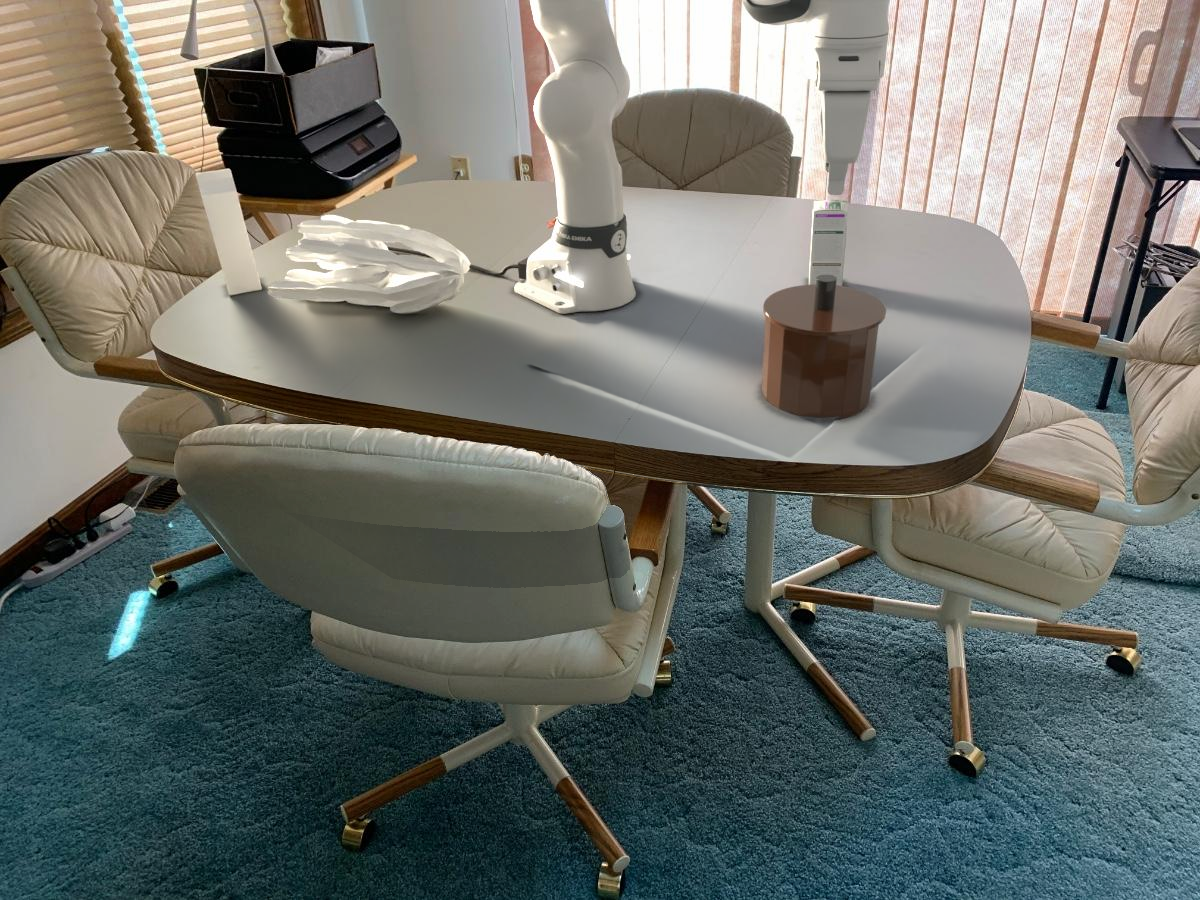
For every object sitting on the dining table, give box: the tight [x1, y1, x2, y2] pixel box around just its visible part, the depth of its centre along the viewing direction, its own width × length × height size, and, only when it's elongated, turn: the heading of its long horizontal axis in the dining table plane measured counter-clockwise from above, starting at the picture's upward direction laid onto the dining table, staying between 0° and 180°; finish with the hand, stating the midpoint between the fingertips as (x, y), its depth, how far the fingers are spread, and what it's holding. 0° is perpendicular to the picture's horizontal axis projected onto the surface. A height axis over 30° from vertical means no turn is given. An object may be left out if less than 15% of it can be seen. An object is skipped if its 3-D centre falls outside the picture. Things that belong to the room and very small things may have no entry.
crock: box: [761, 315, 880, 421], centre depth 124 cm, size 15×15×13 cm
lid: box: [762, 275, 887, 336], centre depth 120 cm, size 16×16×5 cm
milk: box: [195, 168, 263, 296], centre depth 168 cm, size 6×6×22 cm
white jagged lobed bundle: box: [267, 214, 471, 315], centre depth 159 cm, size 17×18×35 cm
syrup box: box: [808, 199, 849, 286], centre depth 156 cm, size 6×6×14 cm
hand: (833, 181), depth 112 cm, fingers open, 8 cm apart
